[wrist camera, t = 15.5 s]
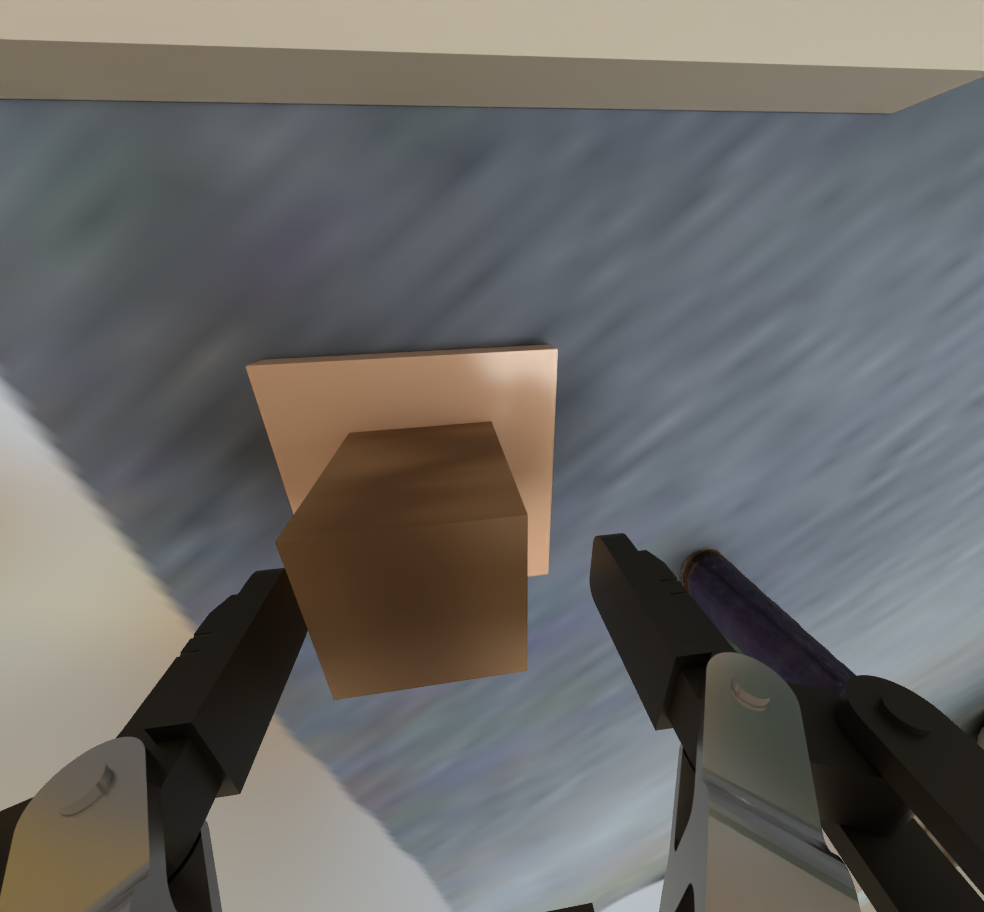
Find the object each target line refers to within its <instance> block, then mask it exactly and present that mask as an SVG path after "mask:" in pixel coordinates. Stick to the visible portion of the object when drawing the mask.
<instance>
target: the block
mask: <svg viewBox="0 0 984 912" xmlns="http://www.w3.org/2000/svg"><path fill="white" fill-rule="evenodd" d="M275 543H276V546H277V548H278V551H279V554H280V556H281V559H282V562H283V564H284V567H285V570H286V572H287V575H288V578H289V581H290V583H291V586H292V589H293V591H294V594H295V597H296V599H297V602H298V605H299V607H300V610H301V613H302V615H303V618H304V621H305V624H306V626H307V629H308V632H309V634H310V637H311V640H312V642H313V645H314V648H315V650H316V653H317V656H318V658H319V661H320V664H321V667H322V669H323V672H324V675H325V677H326V680H327V683H328V685H329V688H330V691H331V693H332V696H333V699H334V700H338V699H345V698H351V697H358V696H364V695H371V694H378V693H384V692H391V691H397V690H404V689H410V688H417V687H424V686H430V685H437V684H443V683H450V682H456V681H463V680H470V679H476V678H483V677H489V676H496V675H502V674H509V673H516V672H522V671H527V593H528V514H527V511H526V509H525V506H524V504H523V501H522V499H521V496H520V493H519V491H518V488H517V486H516V483H515V480H514V478H513V475H512V473H511V470H510V468H509V465H508V462H507V460H506V457H505V455H504V452H503V450H502V447H501V444H500V442H499V439H498V437H497V434H496V432H495V429H494V426H493V424H492V421H490V422H477V423H465V424H452V425H440V426H427V427H415V428H402V429H389V430H377V431H364V432H352V433H349V434H348V435H347V437H346V438H345V440H344V441H343V443H342V444H341V445H340V447H339V448H338V450H337V451H336V453H335V454H334V456H333V457H332V459H331V460H330V462H329V463H328V465H327V466H326V468H325V469H324V471H323V472H322V474H321V475H320V477H319V478H318V480H317V481H316V482H315V484H314V485H313V487H312V488H311V490H310V491H309V493H308V494H307V496H306V497H305V499H304V500H303V502H302V503H301V505H300V506H299V508H298V509H297V511H296V512H295V514H294V515H293V516H292V518H291V519H290V521H289V522H288V524H287V525H286V527H285V528H284V530H283V531H282V533H281V534H280V536H279V537H278V539H277V540H276V542H275Z"/></svg>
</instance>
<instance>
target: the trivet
mask: <svg viewBox="0 0 984 912" xmlns="http://www.w3.org/2000/svg"><path fill="white" fill-rule="evenodd" d="M557 358H558V349H557V348H555V347H553V346H551V345H548V344H547V345H528V346H509V347H490V348H471V349H453V350H434V351H415V352H396V353H377V354H358V355H340V356H321V357H302V358H283V359H264V360H261V361H258V362H255V363H252V364H249V365H247V366H246V369H247V372H248V375H249V378H250V382H251V385H252V388H253V391H254V394H255V397H256V400H257V403H258V406H259V409H260V412H261V415H262V419H263V422H264V425H265V428H266V431H267V434H268V437H269V440H270V443H271V446H272V449H273V453H274V456H275V459H276V462H277V465H278V468H279V471H280V474H281V477H282V480H283V483H284V486H285V490H286V493H287V496H288V499H289V502H290V505H291V508H292V511H293V514H295V512H296V511H297V509H298V508H299V506H300V505H301V503H302V502H303V500H304V499H305V497H306V496H307V494H308V493H309V491H310V490H311V488H312V487H313V485H314V484H315V482H316V481H317V480H318V478H319V477H320V475H321V474H322V472H323V471H324V469H325V468H326V466H327V465H328V463H329V462H330V460H331V459H332V457H333V456H334V454H335V453H336V451H337V450H338V448H339V447H340V445H341V444H342V443H343V441H344V440H345V438H346V437H347V435H348V434H349V433H352V432H364V431H377V430H389V429H402V428H415V427H427V426H440V425H452V424H465V423H477V422H490V421H492V424H493V426H494V429H495V432H496V434H497V437H498V439H499V442H500V444H501V447H502V450H503V452H504V455H505V457H506V460H507V462H508V465H509V468H510V470H511V473H512V475H513V478H514V480H515V483H516V486H517V488H518V491H519V493H520V496H521V499H522V501H523V504H524V506H525V509H526V511H527V514H528V576H536V575H544V574H548V564H549V541H550V518H551V495H552V473H553V450H554V427H555V404H556V381H557Z"/></svg>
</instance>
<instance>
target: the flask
mask: <svg viewBox="0 0 984 912" xmlns="http://www.w3.org/2000/svg"><path fill="white" fill-rule="evenodd" d="M681 573H682V577H681V581H682V584H683V587H684V588H685V589H686V590H687V593H688V595H691V596H692V598H693V599H694V600H695V601H696V603H697V604H698V605H699V606H700V608H701V609H702V610H703V611H704V613H705V614H706V615H707V616H708V618H709V619H710V620H711V621H712V623H713V624H714V625H715V626H716V627H717V629H718V630H719V631H720V632H721V634H722V635H723V636H724V637H725V639H726V640H727V641H728V642H729V644H730V645H731V646H732V647H733V648H734V650H735V651H736V652H737V653H739V654H743V655H746V656H749V657H751V658H754V659H756V660H758V661H760V662H761V663H763V664H765V665H766V666H768V667H769V668H771V669H772V670H773V671H775V672H776V673H777V674H778V675H779V676H780V677H781V678H782V679H783V680H784V681H785V682H789V683H793V684H799V685H804V686H810V687H815V688H821V689H826V690H832V691H837V692H841V691H842V690H843V688H844V686H845V685H846V683H847V682H848V680H849V679H850V678H852V677H855V676H856V675H855V674H854V673H853V672H852V671H851V670H850V669H848V668H847V667H846V666H845V665H844V664H843V663H841V662H840V661H839V660H837V659H836V658H835V657H834V656H833V655H832V654H831V653H830V652H829V651H828V650H827V649H826V648H825V647H824V646H822V645H821V644H820V643H819V642H818V641H816V640H815V639H814V638H813V637H812V636H811V635H810V634H808V633H807V632H806V631H805V630H804V629H803V628H802V627H801V626H800V625H799V623H797V622H796V621H795V620H794V619H792V618H791V617H790V616H789V615H788V614H787V613H786V612H784V611H783V610H782V609H781V608H780V607H779V606H778V605H777V604H776V603H775V602H773V601H772V600H771V599H770V598H768V597H767V596H766V595H765V594H764V593H763V592H762V591H761V590H760V589H759V588H758V587H757V586H756V585H755V584H753V583H752V582H751V581H750V580H749V579H748V578H746V577H745V576H744V575H743V574H742V573H741V572H740V571H739V570H738V569H737V568H736V567H735V566H734V565H733V564H732V563H730V562H729V561H728V560H727V559H725V558H724V556H723V555H722V553H721V552H719V551H716V550H711V549H708V548H707V547H705V548H704V550H702V551H699V552H697V553H695V554H693V555H691V556H690V557H689V558H688V559H687V560H686V561H685V562H684V563H683V569H682V570H681ZM913 818H914V819H915V820H916V821H917V823H918V824H919V825H920V826H921V827H922V829H923V830H924V831H925V832H926V833H927V834H928V836H929V837H930V838H931V839H932V840H933V842H934V843H935V844H936V845H937V846H938V848H939V849H940V850H941V851H942V852H943V853H944V855H945V856H946V857H947V858H948V859H949V861H950V862H951V863H952V864H953V865H954V867H955V868H956V869H957V870H958V871H959V872H961V868H960V867H959V866H958V864H957V863H956V862H955V861H954V860H953V859H952V857H951V856H950V855H949V854H948V853H947V852H946V850H945V849H944V848H943V847H942V846H941V844H940V843H939V842H938V841H937V840H936V839H935V837H934V836H933V835H932V834H931V833H930V832H929V830H928V829H927V828H926V827H925V826H924V824H923V823H922V822H921V821H920V820H919V819H918V817H917V816H916V815H915V816H914V817H913Z"/></svg>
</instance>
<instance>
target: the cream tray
mask: <svg viewBox="0 0 984 912" xmlns="http://www.w3.org/2000/svg"><path fill="white" fill-rule="evenodd" d="M981 77H984V0H0V99H56V100H115V101H175V102H234V103H293V104H352V105H411V106H470V107H529V108H588V109H647V110H706V111H765V112H824V113H883V114H892V113H895V112H897V111H900V110H902V109H905V108H907V107H910V106H912V105H914V104H917V103H919V102H922V101H924V100H927V99H929V98H932V97H934V96H937V95H939V94H942V93H944V92H947V91H949V90H952V89H954V88H957V87H959V86H962V85H964V84H967V83H969V82H972V81H974V80H977V79H979V78H981Z"/></svg>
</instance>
